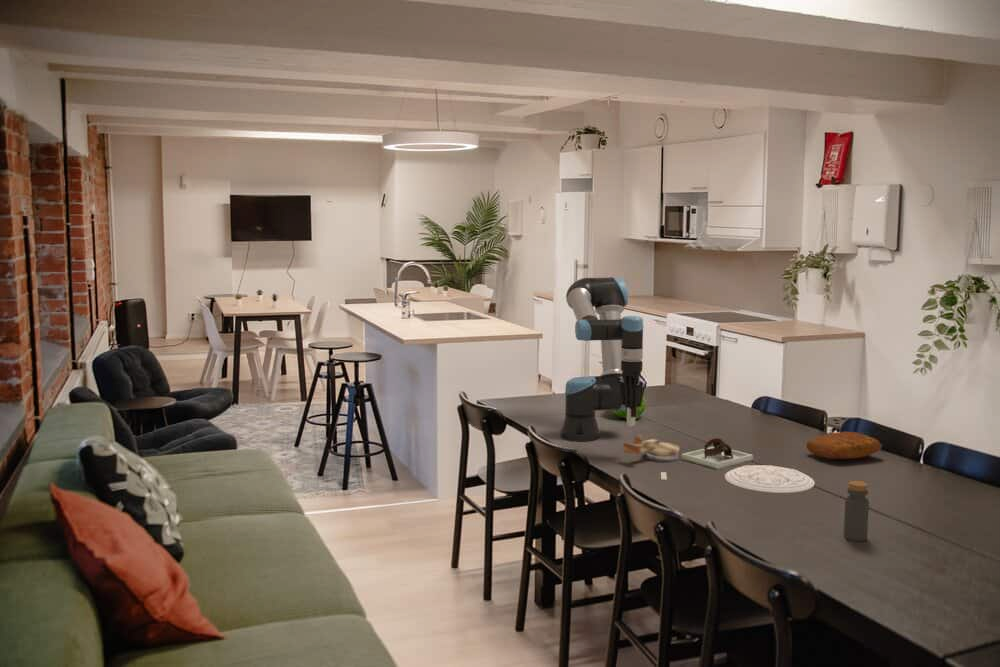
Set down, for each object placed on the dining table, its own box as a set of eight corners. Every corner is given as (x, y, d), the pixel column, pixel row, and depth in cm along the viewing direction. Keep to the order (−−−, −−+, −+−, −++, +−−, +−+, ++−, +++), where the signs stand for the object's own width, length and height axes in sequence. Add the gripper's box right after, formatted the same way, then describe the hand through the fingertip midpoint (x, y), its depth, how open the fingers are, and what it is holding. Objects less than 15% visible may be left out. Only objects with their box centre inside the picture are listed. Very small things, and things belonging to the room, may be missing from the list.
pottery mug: (737, 463, 309) (727, 444, 307) (711, 473, 312) (701, 455, 310) (732, 446, 321) (723, 428, 318) (708, 456, 323) (698, 438, 321)
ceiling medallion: (814, 473, 300) (814, 464, 299) (814, 498, 273) (815, 488, 273) (728, 466, 309) (728, 457, 308) (721, 489, 282) (721, 479, 282)
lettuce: (596, 418, 390) (627, 420, 395) (619, 417, 369) (651, 420, 374) (597, 385, 392) (628, 387, 397) (620, 382, 371) (653, 385, 375)
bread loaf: (852, 449, 328) (853, 428, 327) (885, 461, 312) (886, 439, 311) (801, 454, 321) (802, 432, 320) (833, 467, 305) (834, 444, 304)
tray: (681, 459, 316) (681, 453, 315) (717, 451, 327) (717, 445, 326) (716, 469, 303) (717, 463, 302) (752, 460, 314) (752, 455, 313)
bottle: (839, 534, 241) (842, 480, 239) (860, 533, 242) (863, 479, 240) (849, 541, 235) (852, 486, 233) (871, 541, 236) (874, 486, 234)
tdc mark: (660, 472, 299) (660, 472, 299) (666, 473, 299) (666, 472, 299) (661, 479, 291) (661, 479, 291) (666, 480, 291) (666, 479, 291)
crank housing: (640, 456, 320) (640, 450, 319) (661, 451, 326) (661, 445, 326) (662, 463, 311) (662, 456, 310) (684, 458, 317) (684, 451, 317)
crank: (661, 444, 326) (662, 425, 325) (686, 451, 317) (687, 432, 316) (618, 453, 314) (618, 434, 313) (642, 461, 304) (643, 441, 303)
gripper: (611, 358, 317) (610, 423, 320) (637, 363, 307) (636, 430, 309) (626, 357, 321) (625, 421, 324) (652, 361, 311) (651, 427, 314)
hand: (630, 425), depth 317 cm, fingers closed
